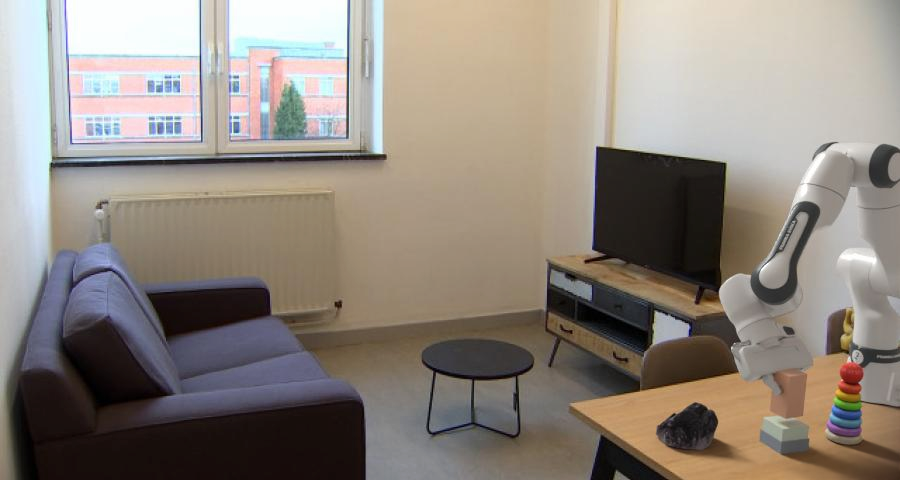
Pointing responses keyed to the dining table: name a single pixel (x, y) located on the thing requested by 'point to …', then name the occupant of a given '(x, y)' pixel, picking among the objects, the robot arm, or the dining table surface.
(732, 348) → the robot arm
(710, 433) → the crystal cluster
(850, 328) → the decorative figurine
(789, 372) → the terracotta brick
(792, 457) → the dining table surface
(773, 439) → the two-tone pastel block
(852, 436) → the stacking toy
